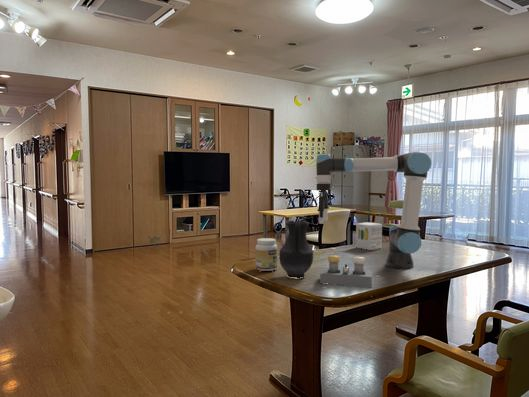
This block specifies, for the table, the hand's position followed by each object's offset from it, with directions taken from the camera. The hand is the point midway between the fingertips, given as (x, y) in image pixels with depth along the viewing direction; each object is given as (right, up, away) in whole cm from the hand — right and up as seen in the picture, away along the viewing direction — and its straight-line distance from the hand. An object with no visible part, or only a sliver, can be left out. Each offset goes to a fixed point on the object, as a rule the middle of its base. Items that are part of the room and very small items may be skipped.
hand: (323, 222), depth 215 cm
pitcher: (-16, -28, -14) cm, 35 cm away
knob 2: (+14, -23, -24) cm, 36 cm away
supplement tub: (-31, -27, +3) cm, 41 cm away
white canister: (+42, -23, +67) cm, 82 cm away
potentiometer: (+7, -23, -25) cm, 35 cm away
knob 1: (+2, -23, -21) cm, 31 cm away
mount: (+8, -28, -22) cm, 37 cm away
